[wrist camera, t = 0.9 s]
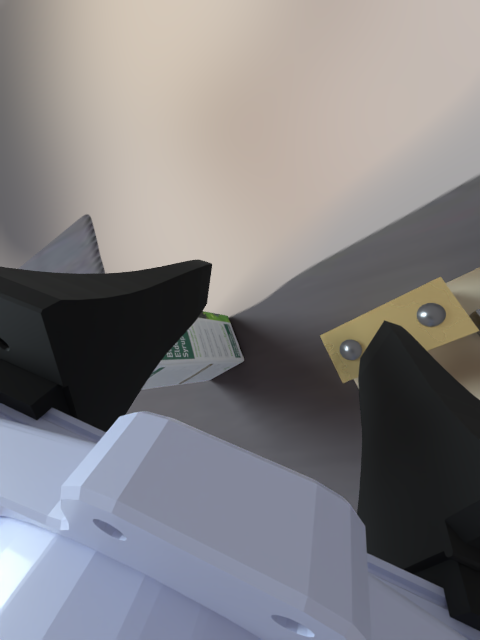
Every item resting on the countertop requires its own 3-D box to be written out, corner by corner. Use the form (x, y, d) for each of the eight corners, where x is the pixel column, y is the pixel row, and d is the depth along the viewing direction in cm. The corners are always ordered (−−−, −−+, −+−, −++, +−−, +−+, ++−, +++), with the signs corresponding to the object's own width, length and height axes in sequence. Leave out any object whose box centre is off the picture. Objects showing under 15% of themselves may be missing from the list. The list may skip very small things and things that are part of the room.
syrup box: (246, 361, 28) (122, 365, 17) (208, 382, 31) (76, 399, 19) (228, 315, 30) (106, 289, 19) (194, 338, 33) (66, 329, 21)
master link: (467, 335, 18) (480, 330, 14) (354, 378, 22) (341, 383, 18) (436, 290, 19) (440, 275, 16) (334, 338, 23) (318, 335, 19)
